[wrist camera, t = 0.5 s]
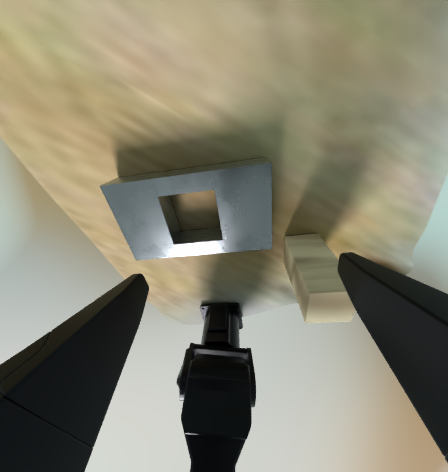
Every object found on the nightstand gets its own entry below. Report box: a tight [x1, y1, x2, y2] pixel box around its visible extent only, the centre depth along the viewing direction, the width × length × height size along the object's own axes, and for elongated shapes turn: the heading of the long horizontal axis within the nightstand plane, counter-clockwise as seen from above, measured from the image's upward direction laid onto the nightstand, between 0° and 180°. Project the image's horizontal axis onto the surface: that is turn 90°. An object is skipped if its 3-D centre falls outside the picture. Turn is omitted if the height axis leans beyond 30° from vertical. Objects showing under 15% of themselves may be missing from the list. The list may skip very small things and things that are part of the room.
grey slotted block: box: [100, 157, 272, 260], centre depth 20 cm, size 9×16×3 cm, turn 98°
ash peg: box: [284, 233, 355, 323], centre depth 20 cm, size 4×4×9 cm
